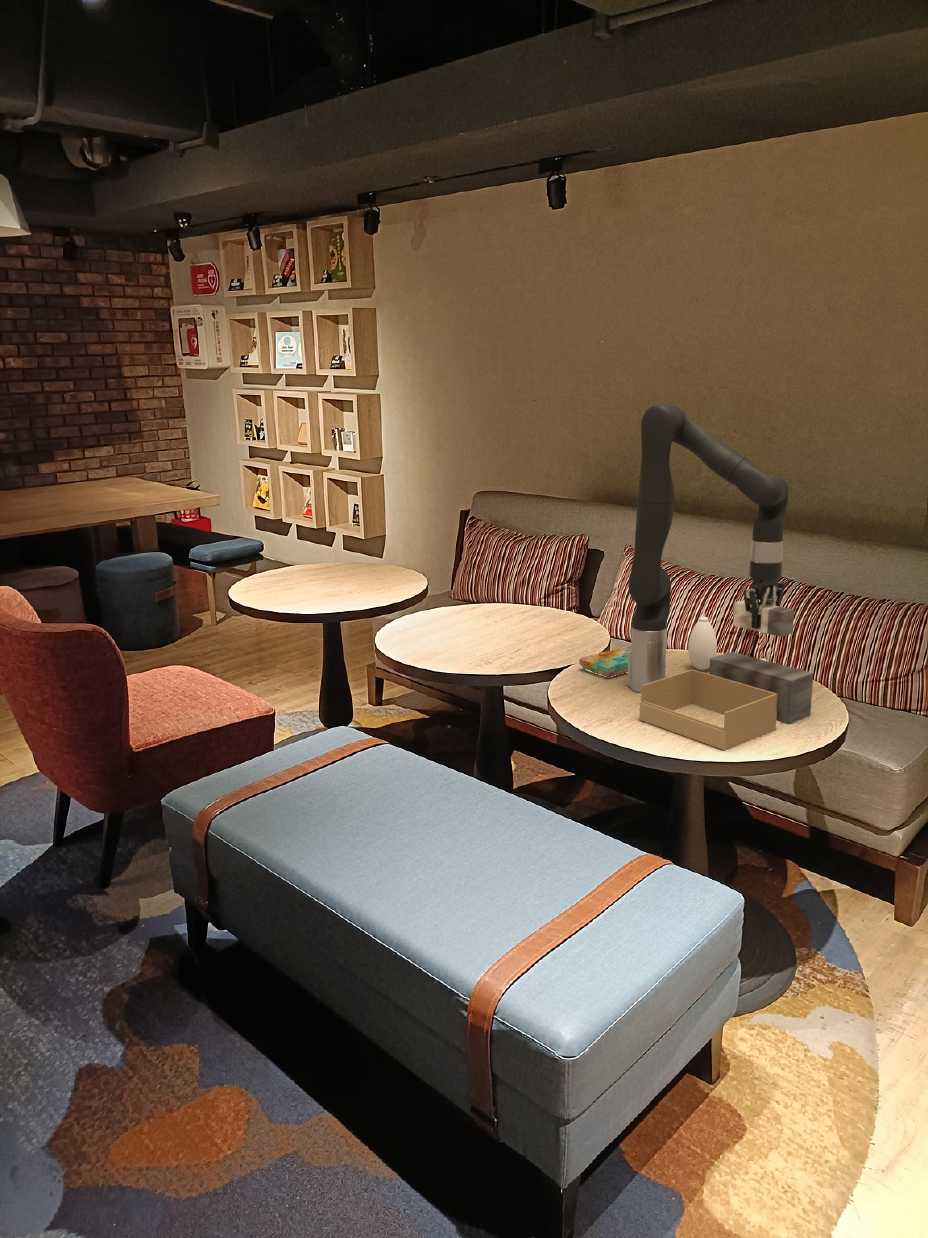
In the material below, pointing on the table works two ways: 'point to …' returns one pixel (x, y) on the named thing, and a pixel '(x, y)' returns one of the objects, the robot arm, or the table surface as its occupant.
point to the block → (766, 619)
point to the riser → (769, 682)
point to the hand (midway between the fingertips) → (762, 626)
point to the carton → (740, 703)
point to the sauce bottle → (702, 644)
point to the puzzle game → (607, 662)
